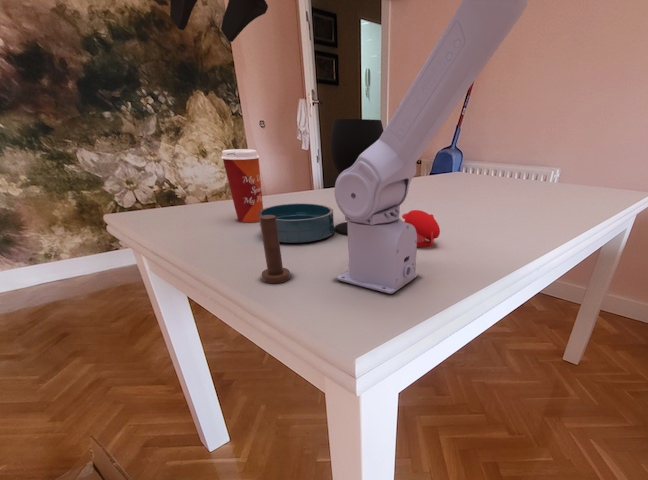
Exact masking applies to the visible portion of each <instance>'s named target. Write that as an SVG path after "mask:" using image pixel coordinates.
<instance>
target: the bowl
mask: <svg viewBox="0 0 648 480" xmlns="http://www.w3.org/2000/svg"><path fill="white" fill-rule="evenodd" d="M263 215H275V216H276V221H277V229H278V236H279V243H284V244H285V243H286V244H303V243H311V242H315V241H320V240H323V239H326V238H328V237H331V236H332V235H334V233H335V219H334V218H335V217H334V209H333V208H332V207H330V206H327V205H323V204H318V203H306V202H305V203H303V202H302V203H297V202H296V203H283V204H276V205H272V206H267V207H263V209H262V210H260V211H259V212H258V217H260V216H263ZM258 222H259V224H260V220H259V221H258ZM259 229H260V234H261V235H262V232H261V226H260V225H259Z"/></svg>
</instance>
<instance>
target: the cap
mask: <svg viewBox="0 0 648 480" xmlns="http://www.w3.org/2000/svg"><path fill="white" fill-rule="evenodd" d="M401 217H402V219H403V222H405V223H409V224H411V225H413V226H414V227H415V229H416V233H417V247H420V248H421V247H429V246H430V247H431V246H432V245H433V244H434V242H435V239H438V238H439V237H440V234H441V228H440V226H439V223H438V222H437V220H436V219H435V217H434V214H429V213H428V212H426V211H423V210H420V209H413V210H410V211H408V212H407V213H404V214H402V215H401ZM425 240H426V241H425ZM427 240H428V241H427Z"/></svg>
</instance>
